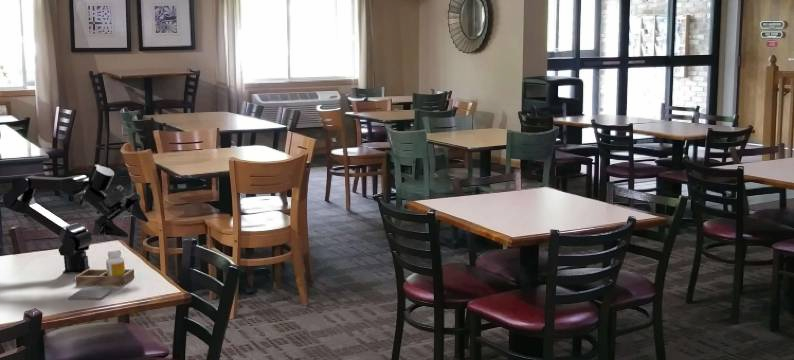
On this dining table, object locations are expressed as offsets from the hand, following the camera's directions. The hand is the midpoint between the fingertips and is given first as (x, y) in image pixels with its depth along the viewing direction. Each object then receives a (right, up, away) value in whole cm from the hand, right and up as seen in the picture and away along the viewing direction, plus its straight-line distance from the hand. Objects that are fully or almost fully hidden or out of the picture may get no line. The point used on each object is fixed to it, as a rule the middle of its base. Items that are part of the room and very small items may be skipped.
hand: (138, 228), depth 274 cm
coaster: (-9, -19, -16) cm, 26 cm away
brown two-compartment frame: (-9, -16, -3) cm, 19 cm away
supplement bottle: (-6, -17, -4) cm, 18 cm away
